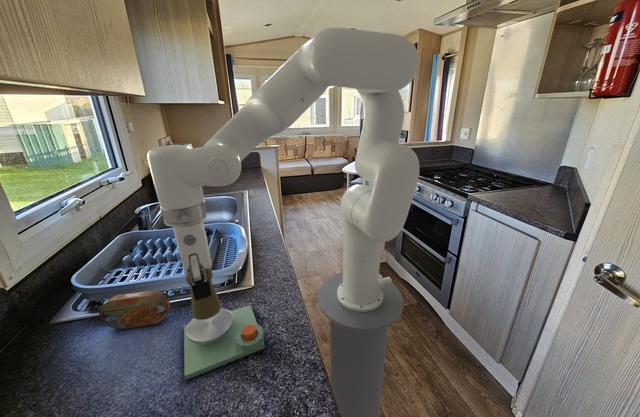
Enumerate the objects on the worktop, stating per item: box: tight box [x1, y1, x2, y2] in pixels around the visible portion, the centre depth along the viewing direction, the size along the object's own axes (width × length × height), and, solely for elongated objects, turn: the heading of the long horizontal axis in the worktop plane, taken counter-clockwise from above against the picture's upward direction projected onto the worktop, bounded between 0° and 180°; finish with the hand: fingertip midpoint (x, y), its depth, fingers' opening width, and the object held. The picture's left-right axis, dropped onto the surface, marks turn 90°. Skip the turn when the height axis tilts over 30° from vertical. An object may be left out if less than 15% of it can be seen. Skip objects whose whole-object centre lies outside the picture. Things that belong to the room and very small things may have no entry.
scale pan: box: [187, 307, 234, 344], centre depth 60 cm, size 10×10×1 cm
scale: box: [183, 304, 266, 381], centre depth 60 cm, size 16×14×3 cm
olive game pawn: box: [185, 265, 222, 320], centre depth 57 cm, size 6×6×11 cm
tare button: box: [242, 324, 257, 341], centre depth 58 cm, size 3×3×2 cm
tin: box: [98, 290, 171, 330], centre depth 64 cm, size 15×3×8 cm, turn 99°
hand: (202, 288), depth 57 cm, fingers closed on olive game pawn, 5 cm apart
